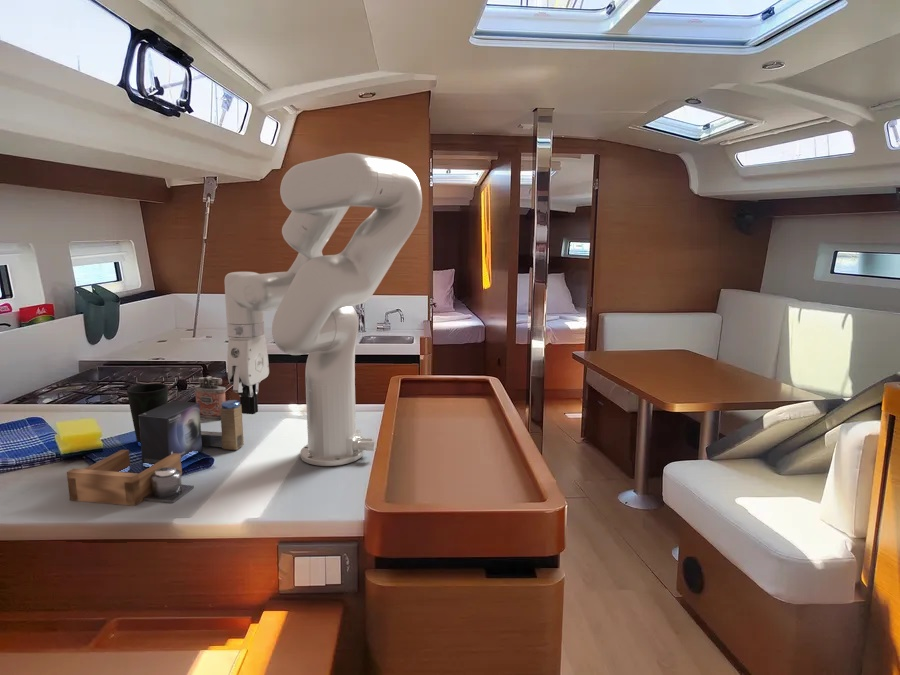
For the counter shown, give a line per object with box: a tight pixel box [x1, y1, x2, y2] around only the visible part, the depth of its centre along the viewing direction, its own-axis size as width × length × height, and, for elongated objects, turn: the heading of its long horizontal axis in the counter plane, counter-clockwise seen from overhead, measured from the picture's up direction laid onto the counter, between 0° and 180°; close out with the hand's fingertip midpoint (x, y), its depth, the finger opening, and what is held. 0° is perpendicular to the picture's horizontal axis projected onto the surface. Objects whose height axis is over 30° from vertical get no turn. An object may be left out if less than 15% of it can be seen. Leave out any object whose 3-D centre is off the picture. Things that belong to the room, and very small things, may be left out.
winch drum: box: [142, 467, 195, 504], centre depth 102 cm, size 6×6×4 cm
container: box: [201, 399, 245, 451], centre depth 124 cm, size 14×4×10 cm, turn 81°
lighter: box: [193, 375, 227, 421], centre depth 143 cm, size 8×3×10 cm, turn 73°
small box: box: [139, 400, 203, 464], centre depth 117 cm, size 11×6×10 cm, turn 168°
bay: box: [66, 449, 183, 507], centre depth 105 cm, size 12×13×5 cm
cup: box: [126, 382, 169, 443], centre depth 126 cm, size 8×8×12 cm
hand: (249, 412), depth 131 cm, fingers closed
